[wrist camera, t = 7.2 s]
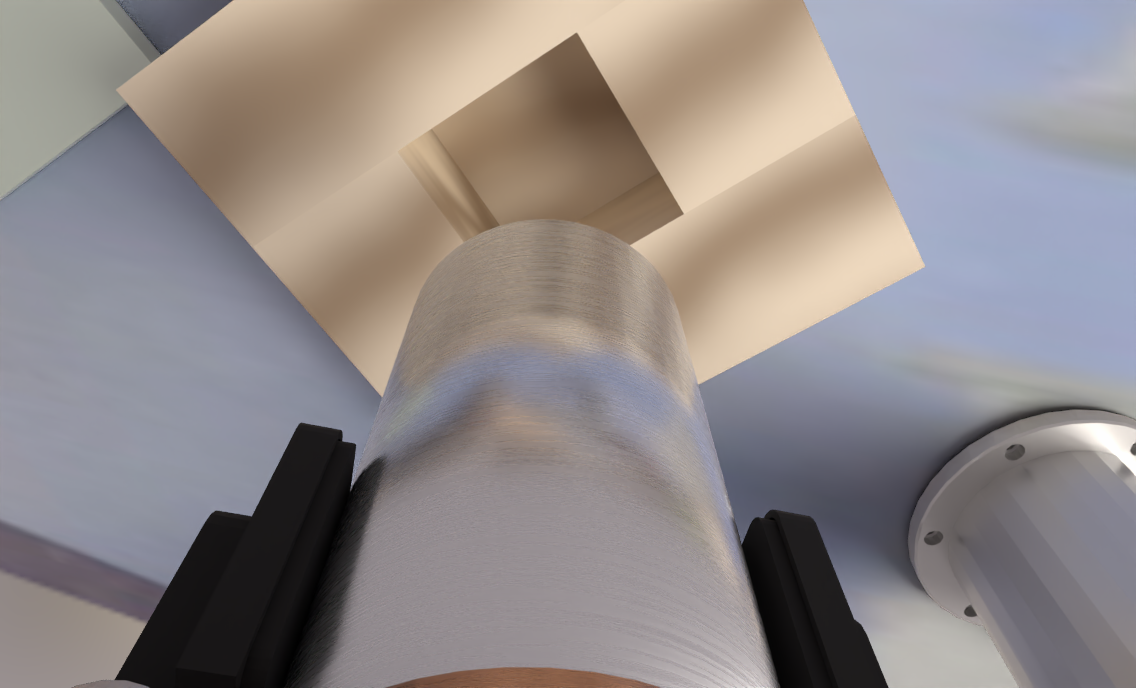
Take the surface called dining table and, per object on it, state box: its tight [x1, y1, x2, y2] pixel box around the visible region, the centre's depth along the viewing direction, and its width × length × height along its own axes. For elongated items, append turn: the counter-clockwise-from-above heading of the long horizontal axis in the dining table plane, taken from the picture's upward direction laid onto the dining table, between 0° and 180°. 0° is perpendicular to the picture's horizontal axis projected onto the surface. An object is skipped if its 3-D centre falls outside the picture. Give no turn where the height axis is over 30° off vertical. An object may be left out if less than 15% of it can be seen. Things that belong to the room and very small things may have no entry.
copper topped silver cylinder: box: [282, 219, 780, 688], centre depth 12 cm, size 5×5×11 cm
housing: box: [116, 0, 925, 397], centre depth 29 cm, size 18×18×6 cm
